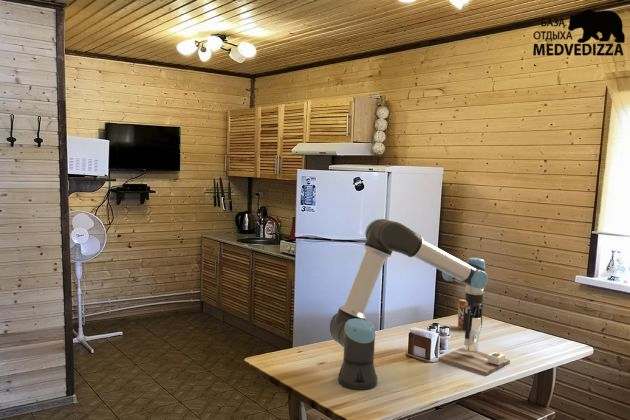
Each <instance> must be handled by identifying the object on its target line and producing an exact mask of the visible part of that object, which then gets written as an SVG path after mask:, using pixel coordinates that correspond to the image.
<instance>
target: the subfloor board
mask: <svg viewBox="0 0 630 420" xmlns="http://www.w3.org/2000/svg"><path fill="white" fill-rule="evenodd" d="M489 354H490V353H485V352H481V351H479V350H478V351H468V350H466V349H464V346H463V347H460V348H457V349H456V350H453V351H451V352H448V353H446V354H444V355H441V356H439V357H438V358H437V359H438V360H437V361H438V362H441V363H444V364H447V365H450V366H454V367H457V368H460V369H463V370H467V371H471V372H474V373H476V374H479V375H483V376H486V377H487V376H489V375H491V374H493V373H495V372H497V371H499V370H500V369H503V368H504V367H505V366H508V365H509V364H511V360H510V359H507V358H505V362H503V363H501V364H500V365H497V364H493V363H490V362H487V361H488V355H489Z"/></svg>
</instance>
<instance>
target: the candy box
mask: <svg viewBox="0 0 630 420" xmlns="http://www.w3.org/2000/svg"><path fill="white" fill-rule="evenodd" d="M467 306H468V302H467V301H466V300H465V299H464V298H463V299H458V308H457V309H458V312H457V329H460V330H463V319H464V308H467Z"/></svg>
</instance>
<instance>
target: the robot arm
mask: <svg viewBox="0 0 630 420" xmlns="http://www.w3.org/2000/svg"><path fill="white" fill-rule="evenodd" d="M364 233H365V234H364V235H365V239H366V241H365V243H364V245H363V246H364V249H365V252H364V255H363V258H362V260H361V263H360V265H359V268H358V271H357V273H356V276H355V278H354V281H353V283H352V286H351V288H350V291H349V294H348V296H347V298H346V300H345V303H344V305H342V306H340V307H338V308H339V309H338V310H337V312H336V313H335V314H334V315H332V316H331V318H330V319H329V322H328V332H329V334H330V336H331V337H332V338H333V340H334V341H335V342H336V343H338V344H339V345H340V346H342V347H343V358H342V359H343V360H342V361H343V362H342V364H341V367H340V369H339V372H338V374H337V375H338V376H337V382H338V384H339V385H341V386H342V387H344V388H346V389H351V390H360V391H365V390H370V389H371V390H372V389H374V388H376V386H377V385H378V375H377V373H376V368H375V363H374V362H375V361H374V360H375V341H376V328H375V325H374V324H373V323H372V322H371V321H369V320H367V317H366V315H365V312H366V309H367V307H368V304H369V301H370V299H371V297H372V293H373V291H374V289H375V286H376V284H377V281H378V279H379V277H380V273H381V272H382V269H383V266H384V264H385V261H386V259H388V258H391V256H392V253H393V252H395V253H398V254H402V255H403V256H407V257H409V258H413V257H414V258H416V259H417V260H420V261H421V262H424V263H425V264H427V265H429V266H431V267H434V268H435V269H437V270H438V271H441V275H442V279H444V280H445V281H448V282H457V283H460V284H463V285H465V295H464V297H465V299H464V300H466V301H467V302H468V306H467V308H464V319H463V329H462V331H463V332H464V346H465V345H466V346H471V335H472V332H471V327H472V318H479V316H481V329H482V327H483V309H484V308H483V307H484V304H482V303H483V302H484V289H485V287H486V286H487V284H488V283H489V276H488V274H487V273H486V261H485V260H484V259H483V258H480V257H469V258H467V261H466V262H465V261H463V260H461V259H460V258H457V256H453V255H452V254H450V253H448V252H446V251H444V250H443V249H441V248H439V247H438V246H435V245H433V244H432V243H430V242H428V241H426V240H424V238H423V235H420V234H419V233H418V232H415V231H414V230H412V229H411V228H409V227H408V226H406V225H405V224H402V223H400V222H398V221H393V220H389V219H386V218H384V219H383V218H379V219H374V220H373V221H371V222H370V223H369V224H368V225H367V226H366V228H365V232H364ZM472 314H473V315H472ZM479 339H480V338H479ZM479 339H478V342H479Z"/></svg>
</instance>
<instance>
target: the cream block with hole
mask: <svg viewBox="0 0 630 420" xmlns="http://www.w3.org/2000/svg"><path fill="white" fill-rule="evenodd" d="M488 354H489V355H488V361H487V362H490V363H493V364H497V365H500V364H501V363H503V362H505V359H506V354H503V353H500V352H495V351H494V352H491V353H488Z"/></svg>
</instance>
